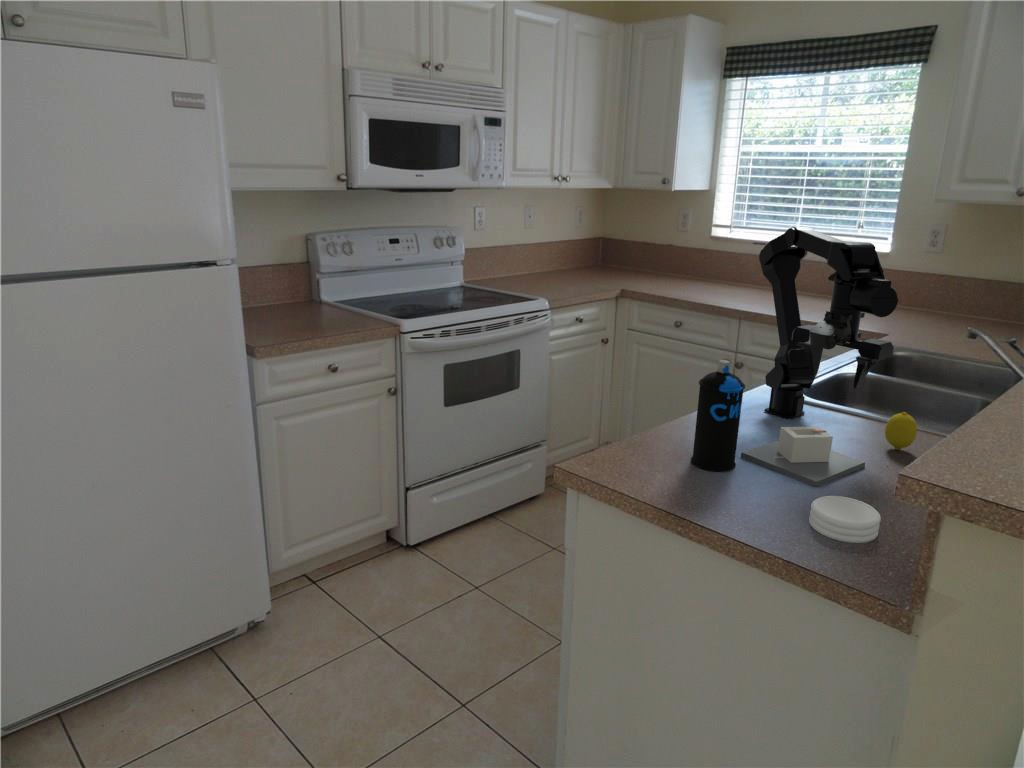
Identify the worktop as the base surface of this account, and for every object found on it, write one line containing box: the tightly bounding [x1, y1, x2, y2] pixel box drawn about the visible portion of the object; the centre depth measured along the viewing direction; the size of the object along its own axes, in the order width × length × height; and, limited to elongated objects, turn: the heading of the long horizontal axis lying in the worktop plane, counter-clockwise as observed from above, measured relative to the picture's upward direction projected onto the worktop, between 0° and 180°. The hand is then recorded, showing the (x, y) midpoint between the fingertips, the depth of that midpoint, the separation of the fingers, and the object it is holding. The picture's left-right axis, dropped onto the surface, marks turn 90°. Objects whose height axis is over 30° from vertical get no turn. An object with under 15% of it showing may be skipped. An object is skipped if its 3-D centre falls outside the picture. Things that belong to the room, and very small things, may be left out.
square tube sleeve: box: [778, 426, 834, 463], centre depth 138 cm, size 6×8×5 cm
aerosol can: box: [690, 359, 746, 473], centre depth 135 cm, size 8×8×20 cm
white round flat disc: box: [808, 495, 882, 544], centre depth 114 cm, size 10×10×4 cm
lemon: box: [884, 411, 918, 451], centre depth 145 cm, size 6×6×8 cm
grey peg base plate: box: [740, 439, 866, 488], centre depth 139 cm, size 16×16×4 cm
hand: (834, 382), depth 148 cm, fingers open, 9 cm apart
